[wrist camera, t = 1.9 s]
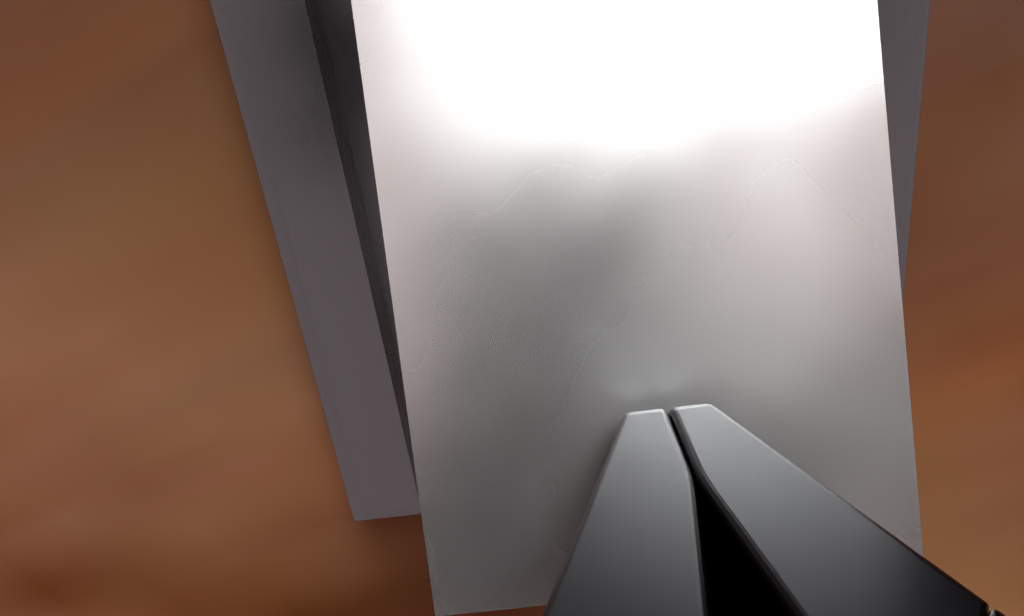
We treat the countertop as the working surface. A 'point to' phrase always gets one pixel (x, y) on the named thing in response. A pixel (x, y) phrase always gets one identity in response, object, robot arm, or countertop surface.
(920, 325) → the countertop surface
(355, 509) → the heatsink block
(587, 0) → the bar
